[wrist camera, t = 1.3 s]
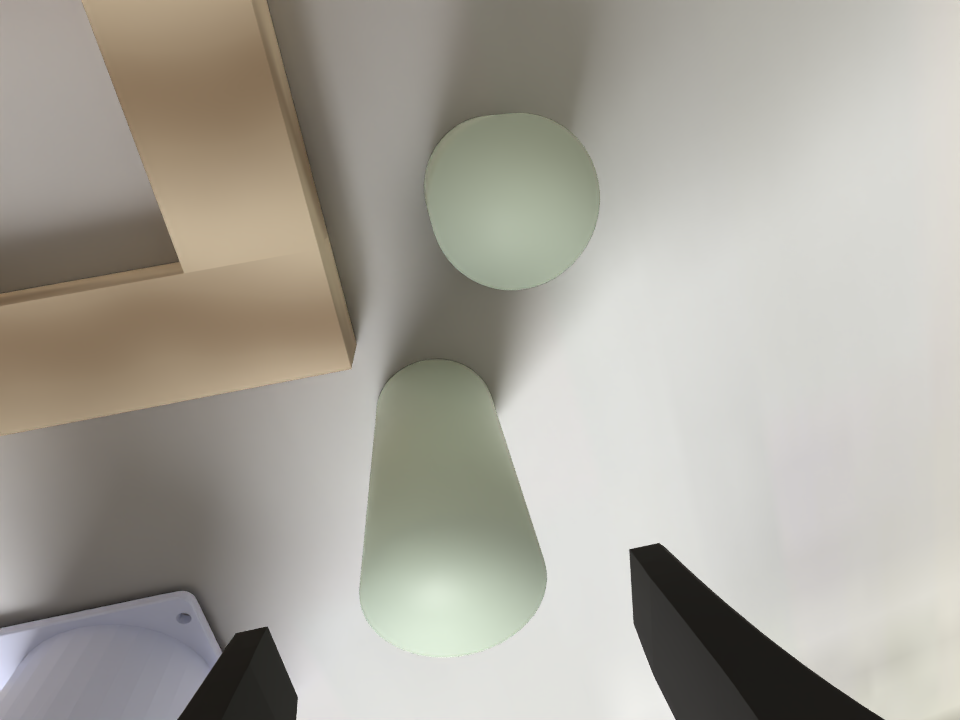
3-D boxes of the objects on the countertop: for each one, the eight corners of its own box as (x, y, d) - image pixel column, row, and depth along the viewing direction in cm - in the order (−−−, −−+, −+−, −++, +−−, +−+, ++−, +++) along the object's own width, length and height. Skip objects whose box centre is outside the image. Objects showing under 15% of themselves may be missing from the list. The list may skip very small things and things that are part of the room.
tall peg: (500, 450, 20) (555, 635, 13) (390, 472, 20) (382, 673, 13) (483, 348, 19) (535, 494, 11) (363, 371, 18) (337, 536, 11)
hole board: (356, 344, 18) (351, 369, 16) (-97, 429, 17) (-157, 466, 15) (203, -239, 12) (169, -302, 10) (-480, -151, 12) (-646, -202, 10)
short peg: (563, 242, 18) (604, 274, 14) (437, 265, 17) (446, 303, 14) (550, 104, 16) (593, 99, 12) (411, 127, 16) (413, 128, 12)
